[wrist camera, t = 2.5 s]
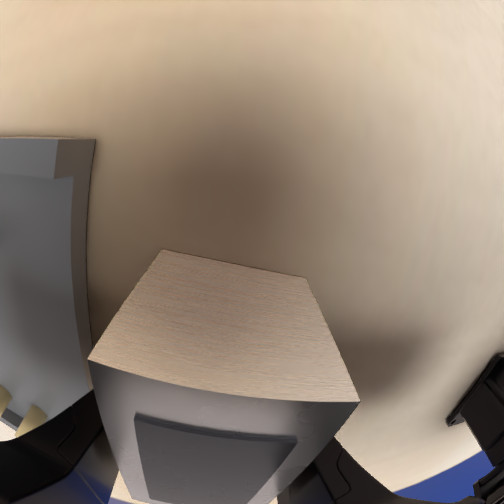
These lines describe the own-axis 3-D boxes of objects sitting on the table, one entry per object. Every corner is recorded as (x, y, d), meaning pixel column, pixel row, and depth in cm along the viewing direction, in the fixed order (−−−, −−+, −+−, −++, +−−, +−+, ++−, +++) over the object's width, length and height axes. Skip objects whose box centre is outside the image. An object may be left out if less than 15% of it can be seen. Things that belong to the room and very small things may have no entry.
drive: (305, 278, 9) (362, 405, 4) (249, 424, 11) (253, 518, 7) (162, 249, 8) (84, 363, 3) (154, 408, 11) (132, 501, 6)
